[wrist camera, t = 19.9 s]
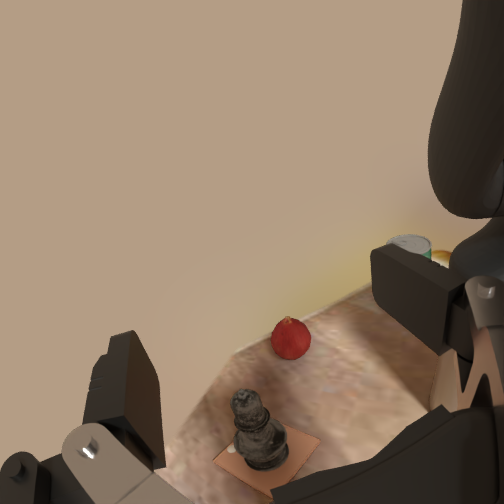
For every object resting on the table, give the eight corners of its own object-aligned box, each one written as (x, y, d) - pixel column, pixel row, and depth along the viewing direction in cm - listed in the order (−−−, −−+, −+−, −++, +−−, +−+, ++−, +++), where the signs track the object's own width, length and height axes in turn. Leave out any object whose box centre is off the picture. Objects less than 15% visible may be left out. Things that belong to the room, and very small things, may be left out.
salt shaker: (235, 444, 34) (203, 379, 29) (280, 426, 35) (260, 359, 30) (250, 481, 28) (217, 423, 24) (299, 461, 29) (282, 398, 25)
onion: (268, 358, 48) (257, 317, 45) (297, 340, 51) (289, 299, 47) (291, 376, 43) (281, 335, 40) (321, 356, 46) (315, 314, 43)
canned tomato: (437, 296, 50) (440, 240, 46) (413, 318, 47) (415, 259, 43) (404, 283, 57) (403, 230, 53) (379, 302, 54) (376, 246, 50)
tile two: (261, 416, 38) (259, 413, 38) (320, 442, 32) (319, 439, 32) (214, 463, 32) (212, 460, 32) (273, 499, 26) (272, 497, 26)
